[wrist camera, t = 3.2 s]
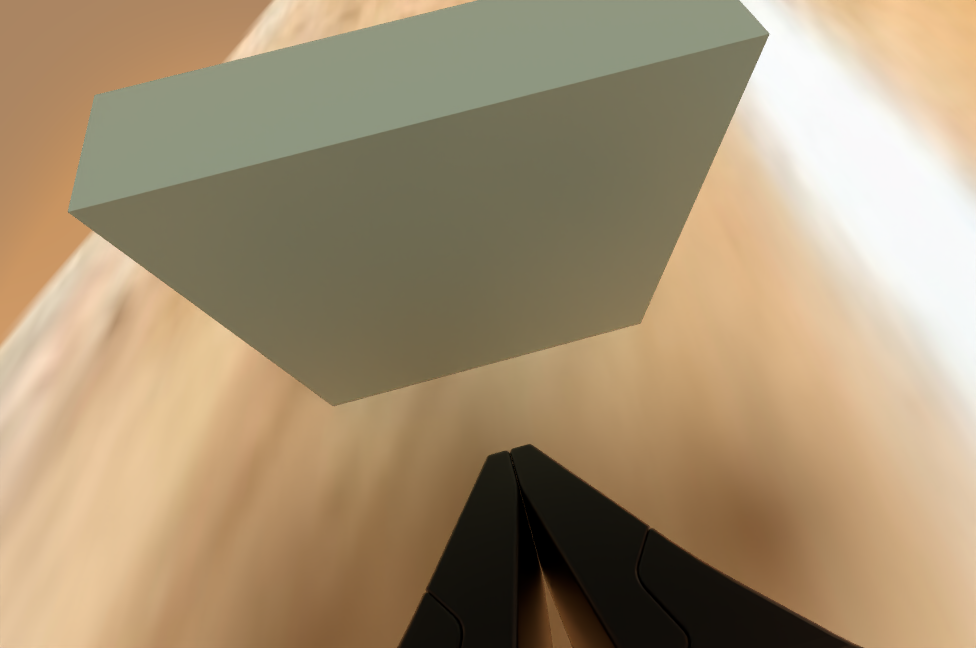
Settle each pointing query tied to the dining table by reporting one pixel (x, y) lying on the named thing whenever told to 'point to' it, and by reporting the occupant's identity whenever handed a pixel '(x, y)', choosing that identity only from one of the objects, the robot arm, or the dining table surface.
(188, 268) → the glazed tile block
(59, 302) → the dining table surface
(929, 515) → the dining table surface
